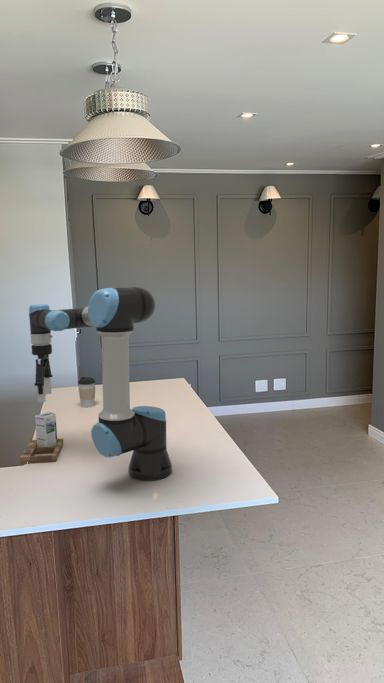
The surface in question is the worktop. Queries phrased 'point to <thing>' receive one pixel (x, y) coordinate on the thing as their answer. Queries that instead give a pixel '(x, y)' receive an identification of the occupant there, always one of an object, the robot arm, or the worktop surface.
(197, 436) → the worktop surface
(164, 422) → the robot arm
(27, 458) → the socket board
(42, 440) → the syrup box
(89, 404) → the coffee cup
